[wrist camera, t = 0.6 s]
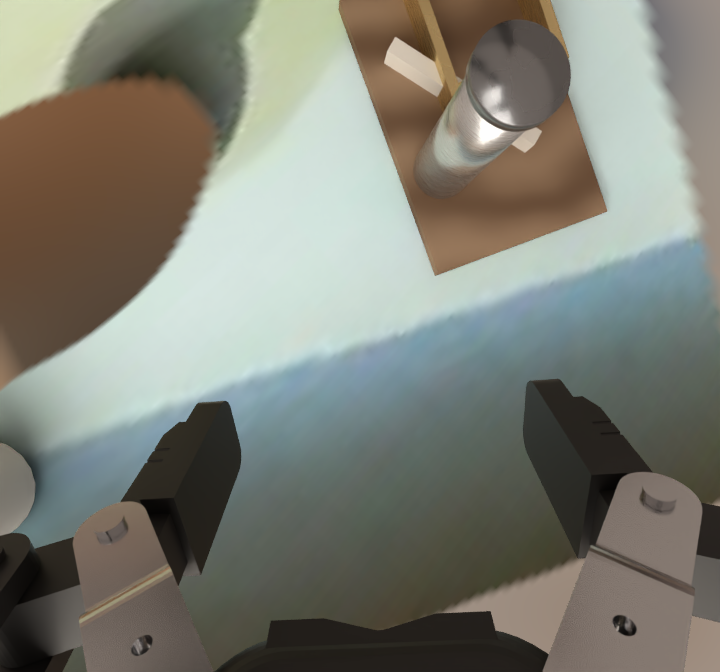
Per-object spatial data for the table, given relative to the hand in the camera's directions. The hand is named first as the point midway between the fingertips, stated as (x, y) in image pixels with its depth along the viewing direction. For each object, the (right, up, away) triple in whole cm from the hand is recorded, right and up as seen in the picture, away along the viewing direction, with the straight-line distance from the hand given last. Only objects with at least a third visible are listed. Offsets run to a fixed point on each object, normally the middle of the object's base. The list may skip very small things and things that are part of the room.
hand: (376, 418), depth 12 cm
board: (+9, +20, +24) cm, 33 cm away
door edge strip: (+7, +20, +24) cm, 33 cm away
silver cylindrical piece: (+6, +15, +23) cm, 28 cm away
